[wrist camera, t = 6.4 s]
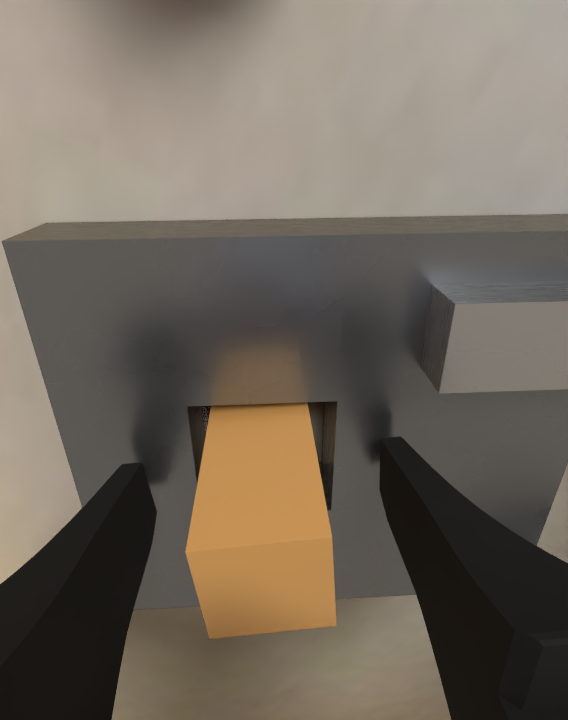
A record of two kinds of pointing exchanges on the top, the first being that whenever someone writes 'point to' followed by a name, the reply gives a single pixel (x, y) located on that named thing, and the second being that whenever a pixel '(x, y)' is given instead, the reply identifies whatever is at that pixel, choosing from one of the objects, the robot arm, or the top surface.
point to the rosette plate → (308, 361)
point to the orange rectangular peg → (261, 524)
